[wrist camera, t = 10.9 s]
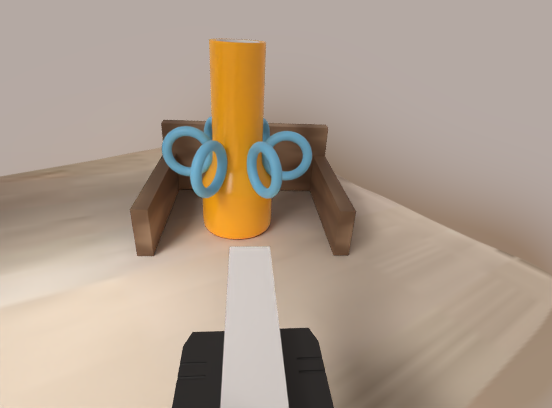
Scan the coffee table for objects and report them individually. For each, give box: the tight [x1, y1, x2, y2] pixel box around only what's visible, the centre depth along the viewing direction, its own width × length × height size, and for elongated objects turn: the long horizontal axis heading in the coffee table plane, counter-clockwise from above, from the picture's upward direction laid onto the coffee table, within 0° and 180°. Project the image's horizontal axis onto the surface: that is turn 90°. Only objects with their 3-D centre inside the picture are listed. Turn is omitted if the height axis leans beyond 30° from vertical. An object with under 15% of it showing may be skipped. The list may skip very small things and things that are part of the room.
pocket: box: [130, 120, 356, 256], centre depth 32 cm, size 16×13×7 cm
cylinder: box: [162, 39, 312, 239], centre depth 29 cm, size 12×10×15 cm
